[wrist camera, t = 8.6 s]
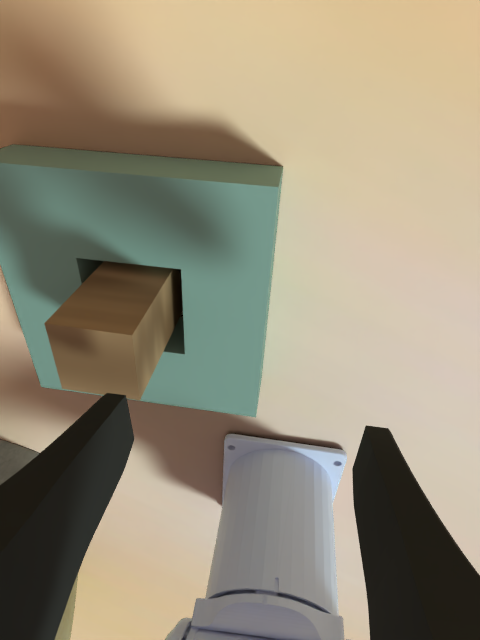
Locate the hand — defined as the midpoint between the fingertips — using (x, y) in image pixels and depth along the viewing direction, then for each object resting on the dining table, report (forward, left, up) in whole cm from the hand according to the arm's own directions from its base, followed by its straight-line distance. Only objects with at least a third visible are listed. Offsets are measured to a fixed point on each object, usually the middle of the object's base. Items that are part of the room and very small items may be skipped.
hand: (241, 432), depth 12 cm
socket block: (0, +6, -9) cm, 11 cm away
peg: (0, +6, -9) cm, 11 cm away
